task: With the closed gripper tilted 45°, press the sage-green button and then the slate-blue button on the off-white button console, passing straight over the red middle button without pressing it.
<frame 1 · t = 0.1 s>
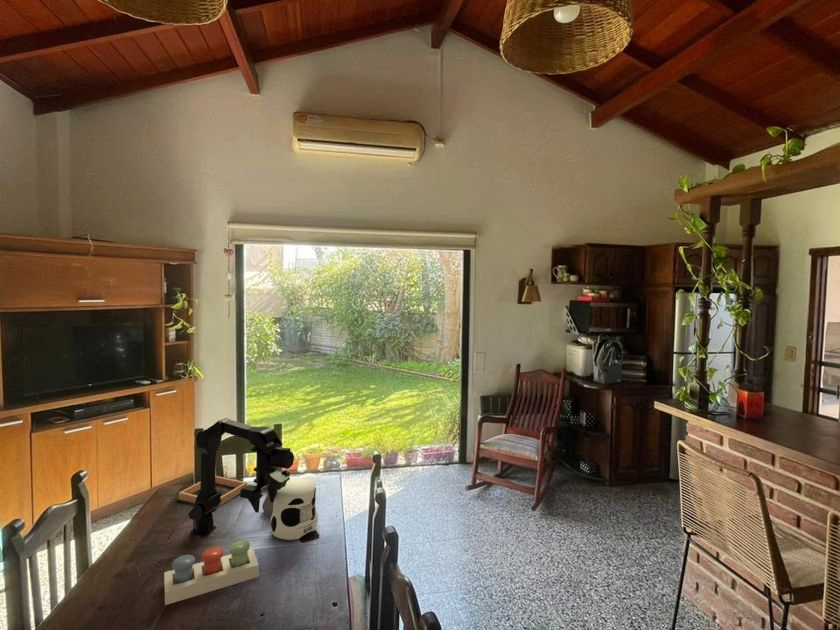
hand: (264, 507, 153), 15 cm above the table, tool pointing down, fingers open, 8 cm apart
phone: (304, 532, 166), on the table
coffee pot: (270, 507, 183), on the table
milk container: (294, 532, 165), on the table, touching gripper
supplement bottle: (270, 483, 204), on the table
slate blue button: (183, 570, 132), point 6 cm above the table, slide at 0.0 cm
button console: (212, 580, 136), on the table
red button: (212, 562, 136), point 6 cm above the table, slide at 0.0 cm
sage green button: (239, 554, 140), point 6 cm above the table, slide at 0.0 cm
square wooden frame: (214, 494, 192), on the table
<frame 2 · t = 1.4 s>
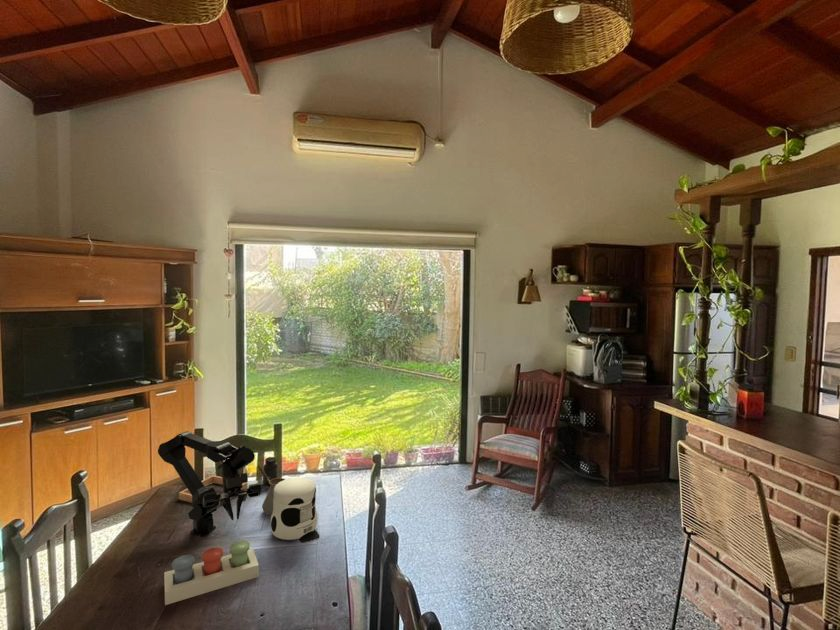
hand: (235, 519, 147), 14 cm above the table, tool tilted 45°, fingers closed
milk container: (294, 532, 165), on the table
everything else where it was.
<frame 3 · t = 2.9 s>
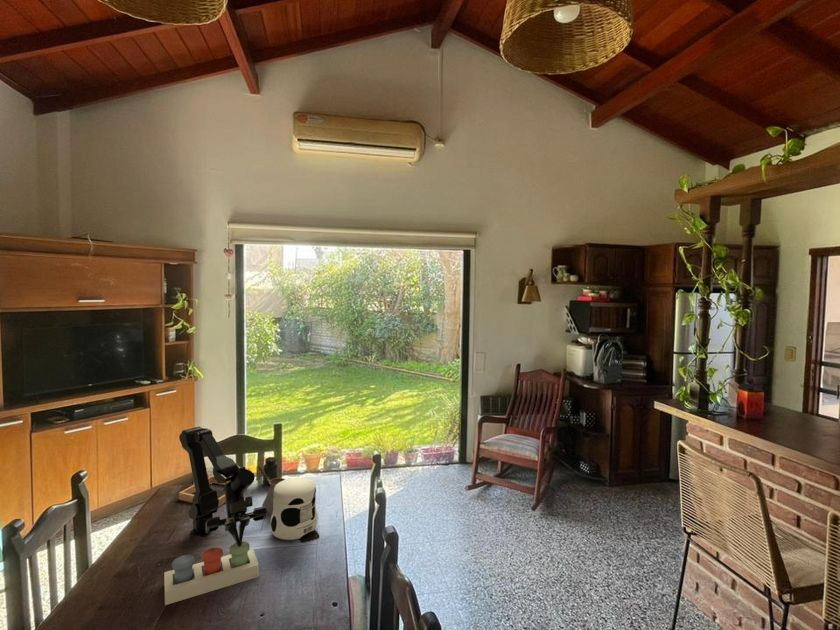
hand: (239, 545, 140), 9 cm above the table, tool tilted 45°, fingers closed, pressing on sage green button
sage green button: (239, 555, 140), point 6 cm above the table, slide at 0.3 cm, touching gripper
everything else where it was.
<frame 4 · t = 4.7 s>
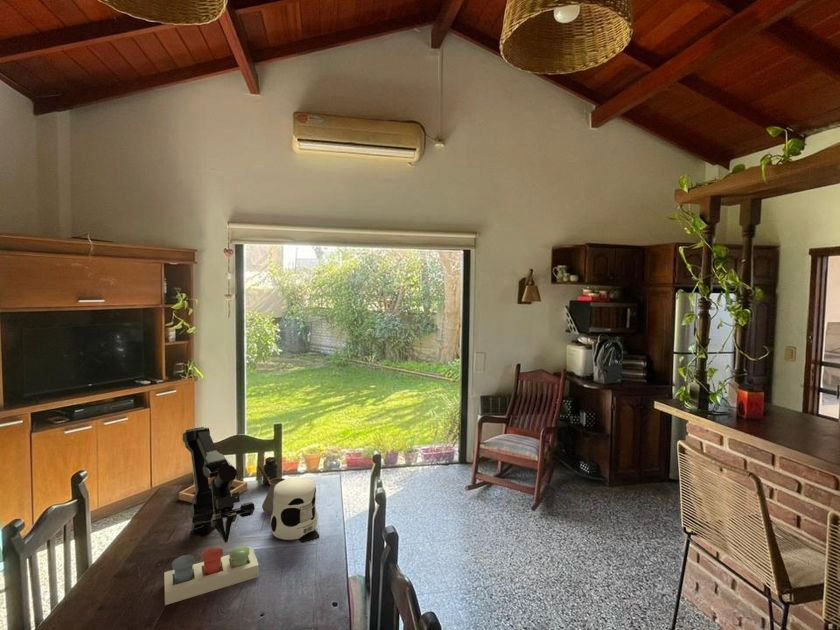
hand: (226, 542, 138), 11 cm above the table, tool tilted 45°, fingers closed
sage green button: (239, 560, 140), point 4 cm above the table, slide at 1.8 cm
everything else where it was.
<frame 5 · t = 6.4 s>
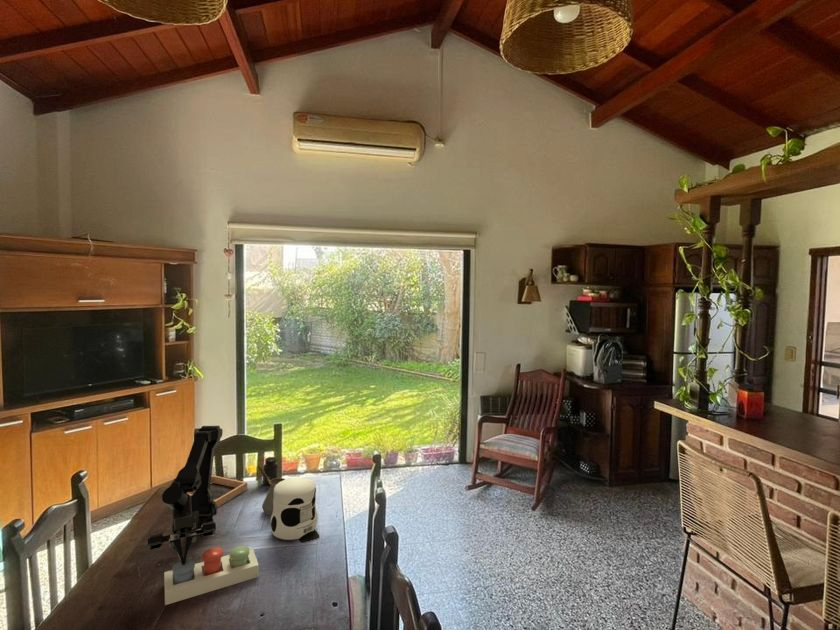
hand: (183, 564, 132), 8 cm above the table, tool tilted 45°, fingers closed, pressing on slate blue button
slate blue button: (183, 574, 132), point 5 cm above the table, slide at 1.5 cm, touching gripper
everything else where it was.
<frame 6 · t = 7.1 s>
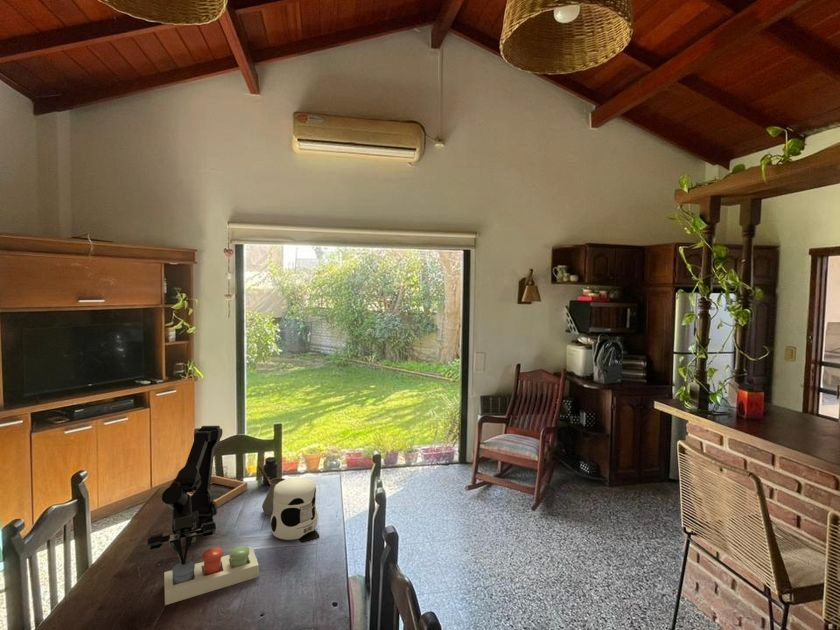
hand: (183, 564, 132), 8 cm above the table, tool tilted 45°, fingers closed
slate blue button: (183, 576, 132), point 4 cm above the table, slide at 1.8 cm
everything else where it was.
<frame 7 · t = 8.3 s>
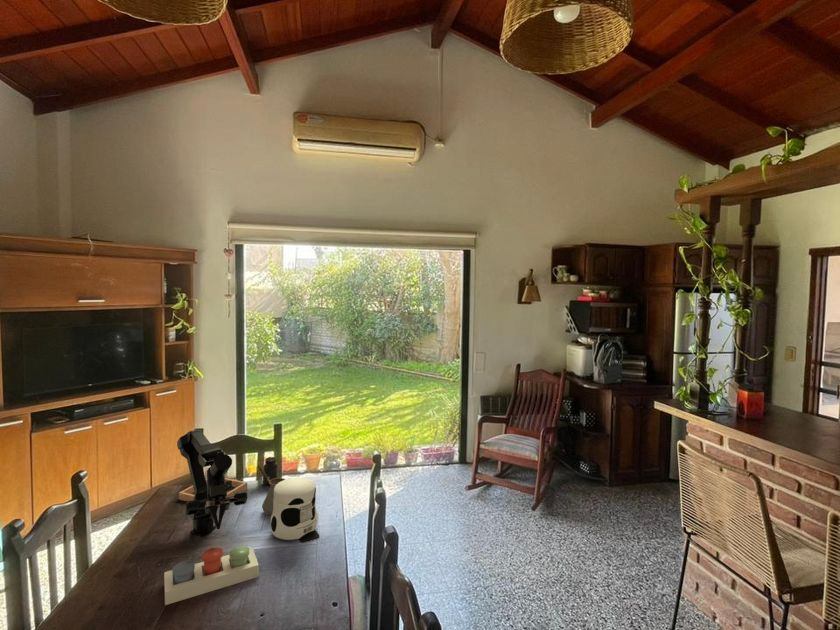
hand: (218, 528, 142), 13 cm above the table, tool tilted 45°, fingers closed
nothing on the table moved.
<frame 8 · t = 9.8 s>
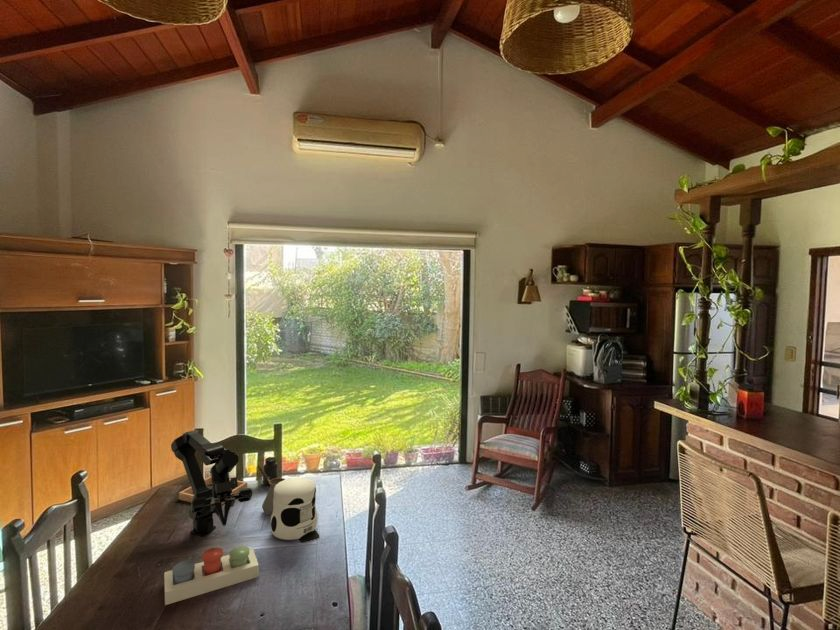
hand: (224, 525, 144), 14 cm above the table, tool tilted 45°, fingers closed
nothing on the table moved.
at the end: sage green button slide at 1.8 cm; slate blue button slide at 1.8 cm; red button slide at 0.0 cm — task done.
